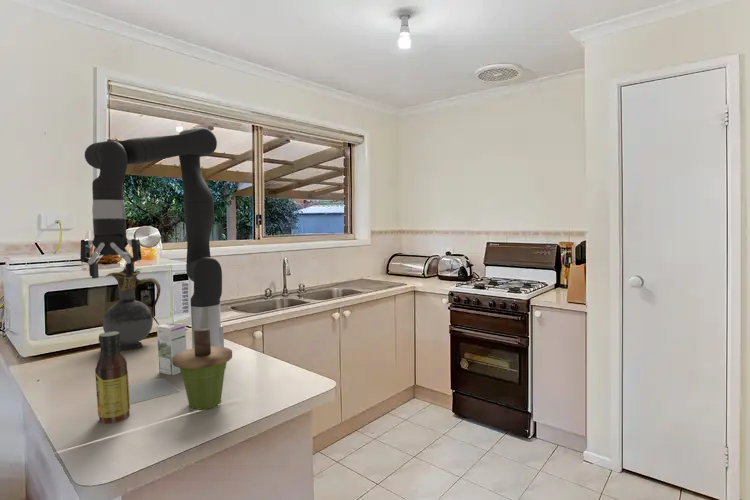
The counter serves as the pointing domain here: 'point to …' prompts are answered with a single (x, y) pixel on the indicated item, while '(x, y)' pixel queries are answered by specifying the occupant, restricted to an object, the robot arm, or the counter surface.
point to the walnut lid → (202, 353)
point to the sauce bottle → (112, 380)
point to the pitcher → (130, 312)
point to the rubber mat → (150, 390)
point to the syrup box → (170, 345)
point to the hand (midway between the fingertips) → (112, 277)
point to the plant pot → (204, 385)
